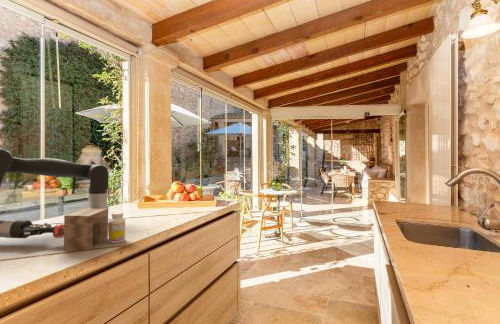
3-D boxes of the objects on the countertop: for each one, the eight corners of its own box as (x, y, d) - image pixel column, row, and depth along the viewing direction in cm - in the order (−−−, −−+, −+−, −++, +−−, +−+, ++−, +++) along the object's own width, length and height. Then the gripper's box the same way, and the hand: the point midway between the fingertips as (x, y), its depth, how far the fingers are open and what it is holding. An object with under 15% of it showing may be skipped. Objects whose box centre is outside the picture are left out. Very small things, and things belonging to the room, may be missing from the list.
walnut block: (60, 249, 114) (60, 215, 114) (82, 238, 130) (82, 208, 130) (88, 250, 115) (89, 216, 114) (107, 238, 131) (108, 208, 130)
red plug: (52, 239, 117) (52, 226, 117) (61, 235, 123) (61, 222, 123) (86, 240, 118) (86, 226, 118) (93, 236, 123) (94, 223, 123)
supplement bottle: (112, 239, 131) (112, 211, 130) (127, 239, 131) (127, 211, 131) (106, 243, 124) (106, 214, 124) (121, 243, 124) (122, 214, 124)
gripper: (2, 224, 113) (46, 224, 113) (27, 217, 126) (67, 217, 127) (2, 242, 113) (46, 243, 113) (27, 233, 126) (66, 234, 127)
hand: (57, 229), depth 120 cm, fingers closed
